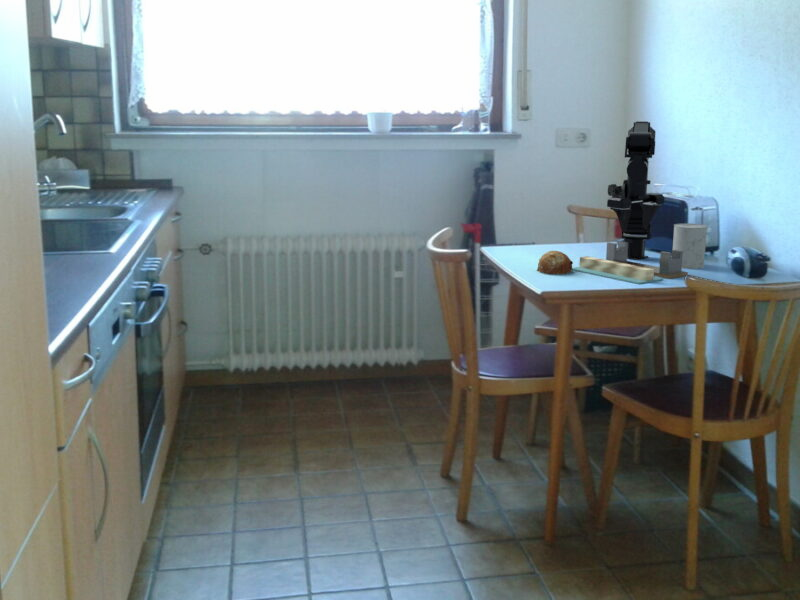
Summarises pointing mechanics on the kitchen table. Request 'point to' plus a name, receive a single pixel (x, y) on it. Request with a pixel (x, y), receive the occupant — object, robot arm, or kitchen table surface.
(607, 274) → the mat
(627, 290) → the kitchen table surface
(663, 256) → the bracketed wooden plank
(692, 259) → the grey stone cylinder
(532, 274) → the kitchen table surface
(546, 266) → the bread roll
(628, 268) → the rail
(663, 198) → the robot arm
